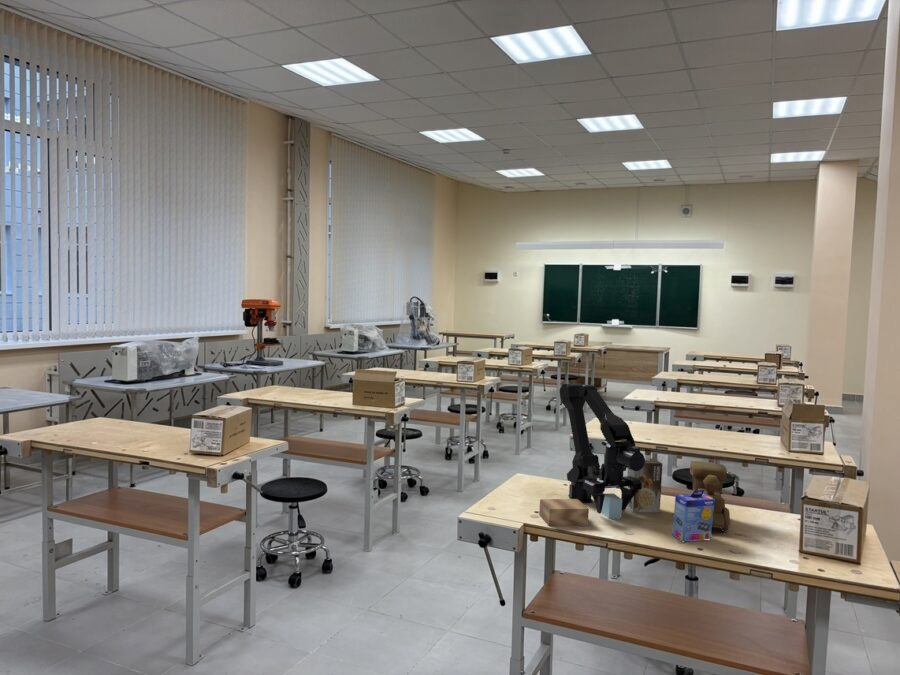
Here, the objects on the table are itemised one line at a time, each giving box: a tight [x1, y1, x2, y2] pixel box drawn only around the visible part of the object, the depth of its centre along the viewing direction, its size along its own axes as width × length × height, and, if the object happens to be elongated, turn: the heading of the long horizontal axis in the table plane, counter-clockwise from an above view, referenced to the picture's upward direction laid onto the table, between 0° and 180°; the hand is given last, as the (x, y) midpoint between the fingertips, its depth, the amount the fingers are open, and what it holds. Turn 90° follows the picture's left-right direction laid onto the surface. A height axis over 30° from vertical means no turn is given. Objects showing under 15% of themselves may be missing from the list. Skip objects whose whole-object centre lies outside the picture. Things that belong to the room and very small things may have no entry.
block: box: [601, 492, 623, 520], centre depth 193 cm, size 4×6×6 cm, turn 9°
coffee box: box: [626, 457, 664, 513], centre depth 200 cm, size 9×6×16 cm
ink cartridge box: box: [671, 490, 715, 542], centre depth 177 cm, size 10×6×14 cm, turn 108°
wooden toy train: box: [689, 460, 731, 532], centre depth 190 cm, size 20×11×17 cm, turn 163°
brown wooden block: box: [538, 498, 590, 527], centre depth 186 cm, size 12×9×5 cm
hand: (610, 511), depth 193 cm, fingers open, 9 cm apart
